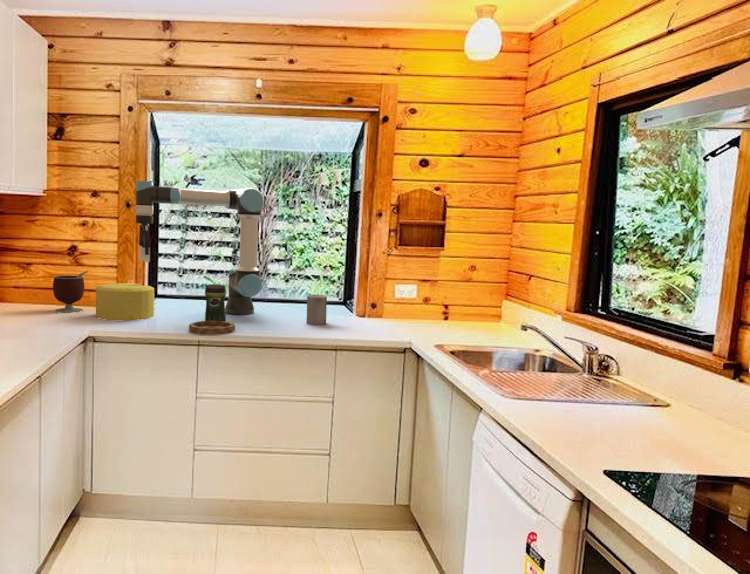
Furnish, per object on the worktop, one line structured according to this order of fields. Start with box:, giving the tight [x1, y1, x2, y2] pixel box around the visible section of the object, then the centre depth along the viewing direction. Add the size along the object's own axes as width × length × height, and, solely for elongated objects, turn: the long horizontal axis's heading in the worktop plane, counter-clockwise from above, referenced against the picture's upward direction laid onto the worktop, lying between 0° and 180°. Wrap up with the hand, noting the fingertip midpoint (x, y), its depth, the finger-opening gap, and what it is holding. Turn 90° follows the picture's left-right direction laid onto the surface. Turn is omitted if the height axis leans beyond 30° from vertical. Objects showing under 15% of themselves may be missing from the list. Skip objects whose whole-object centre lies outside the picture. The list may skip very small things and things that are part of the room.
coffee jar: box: [204, 283, 227, 322], centre depth 280 cm, size 10×8×19 cm
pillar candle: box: [306, 293, 328, 326], centre depth 294 cm, size 10×10×15 cm
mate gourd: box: [52, 270, 88, 314], centre depth 297 cm, size 16×14×20 cm
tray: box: [188, 320, 236, 335], centre depth 265 cm, size 19×19×3 cm
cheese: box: [95, 282, 155, 321], centre depth 289 cm, size 26×26×15 cm
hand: (144, 260), depth 278 cm, fingers open, 13 cm apart
